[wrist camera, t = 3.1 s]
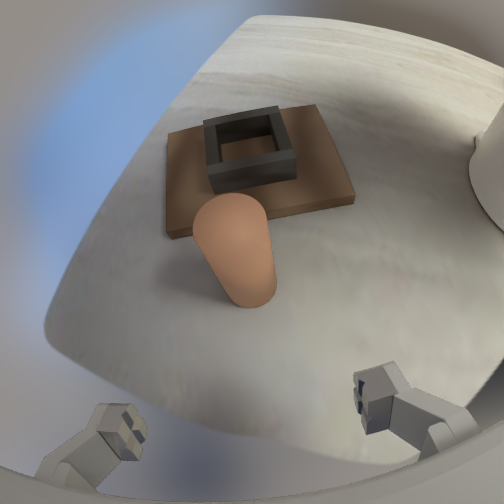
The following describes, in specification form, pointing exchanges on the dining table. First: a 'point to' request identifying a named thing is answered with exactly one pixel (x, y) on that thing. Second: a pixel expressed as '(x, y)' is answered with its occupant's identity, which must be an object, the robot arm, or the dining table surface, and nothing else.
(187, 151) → the collar stand
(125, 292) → the dining table surface
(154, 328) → the dining table surface
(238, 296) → the peg
